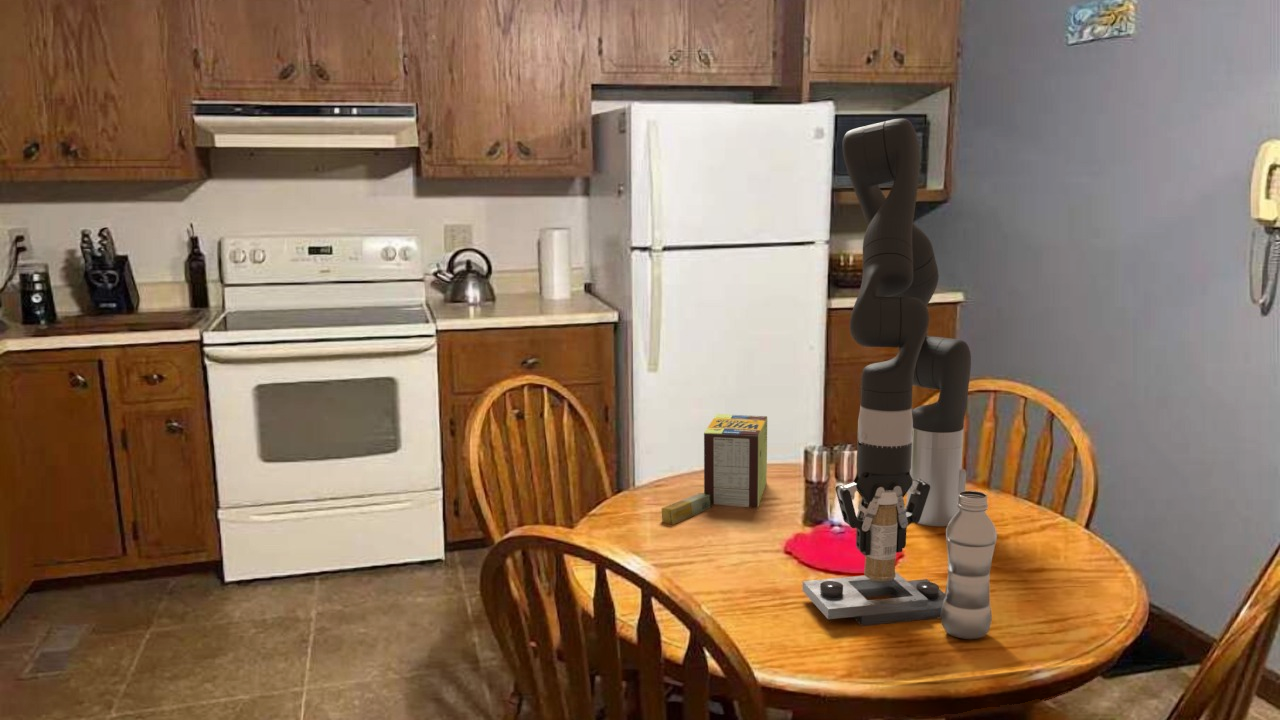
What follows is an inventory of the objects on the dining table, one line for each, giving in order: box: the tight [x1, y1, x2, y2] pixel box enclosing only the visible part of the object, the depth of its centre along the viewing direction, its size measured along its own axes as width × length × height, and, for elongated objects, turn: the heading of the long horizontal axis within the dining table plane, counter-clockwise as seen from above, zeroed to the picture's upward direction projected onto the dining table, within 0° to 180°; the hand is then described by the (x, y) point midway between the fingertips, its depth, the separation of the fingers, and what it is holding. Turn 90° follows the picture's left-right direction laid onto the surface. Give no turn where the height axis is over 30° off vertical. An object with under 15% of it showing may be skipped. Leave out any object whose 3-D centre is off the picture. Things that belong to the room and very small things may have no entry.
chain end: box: [852, 578, 945, 627], centre depth 146 cm, size 15×10×3 cm, turn 101°
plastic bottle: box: [940, 490, 998, 640], centre depth 135 cm, size 6×7×20 cm
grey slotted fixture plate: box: [801, 572, 928, 620], centre depth 145 cm, size 15×10×3 cm, turn 101°
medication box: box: [661, 492, 712, 525], centre depth 183 cm, size 12×3×4 cm, turn 141°
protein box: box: [703, 413, 768, 508], centre depth 193 cm, size 10×15×16 cm
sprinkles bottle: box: [863, 490, 898, 581], centre depth 144 cm, size 5×5×13 cm
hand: (880, 551), depth 144 cm, fingers closed on sprinkles bottle, 4 cm apart
